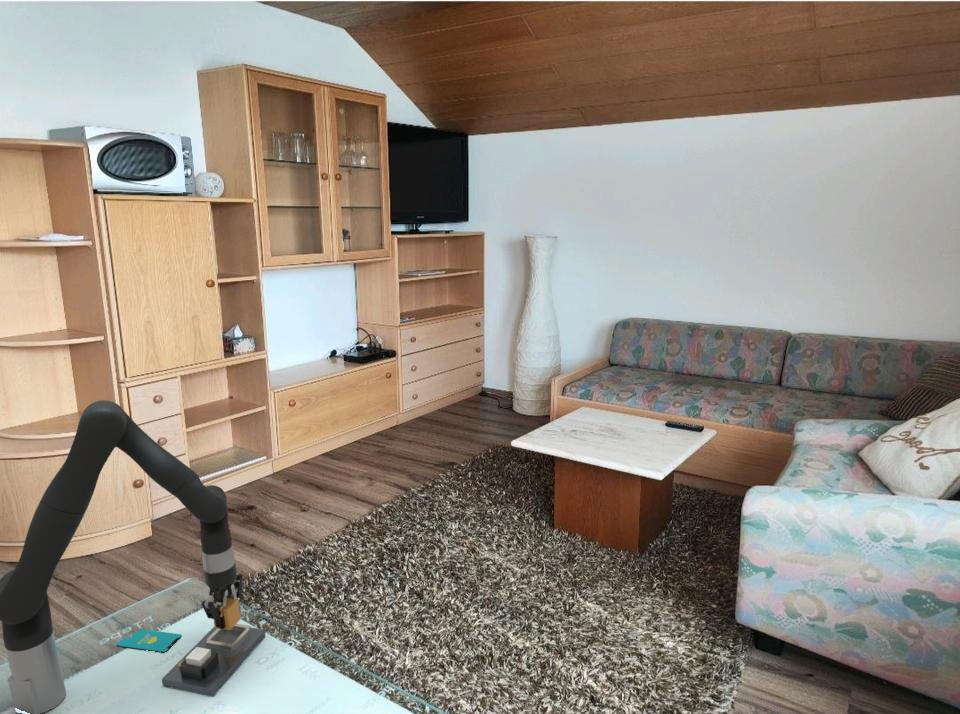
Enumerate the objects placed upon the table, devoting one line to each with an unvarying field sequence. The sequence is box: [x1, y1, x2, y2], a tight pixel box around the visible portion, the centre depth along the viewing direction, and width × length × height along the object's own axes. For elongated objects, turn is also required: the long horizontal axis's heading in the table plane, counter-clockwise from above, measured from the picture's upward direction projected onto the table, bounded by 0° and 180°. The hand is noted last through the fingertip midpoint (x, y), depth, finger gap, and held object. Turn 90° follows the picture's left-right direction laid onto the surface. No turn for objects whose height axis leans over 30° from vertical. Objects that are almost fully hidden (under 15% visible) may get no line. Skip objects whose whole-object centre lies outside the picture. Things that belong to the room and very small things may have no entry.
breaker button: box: [186, 647, 211, 667], centre depth 161 cm, size 4×4×4 cm
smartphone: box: [116, 628, 183, 654], centre depth 175 cm, size 7×1×15 cm
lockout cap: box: [213, 598, 241, 630], centre depth 171 cm, size 4×4×6 cm
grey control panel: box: [161, 623, 266, 697], centre depth 167 cm, size 22×14×5 cm, turn 165°
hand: (227, 621), depth 171 cm, fingers closed on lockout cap, 4 cm apart
